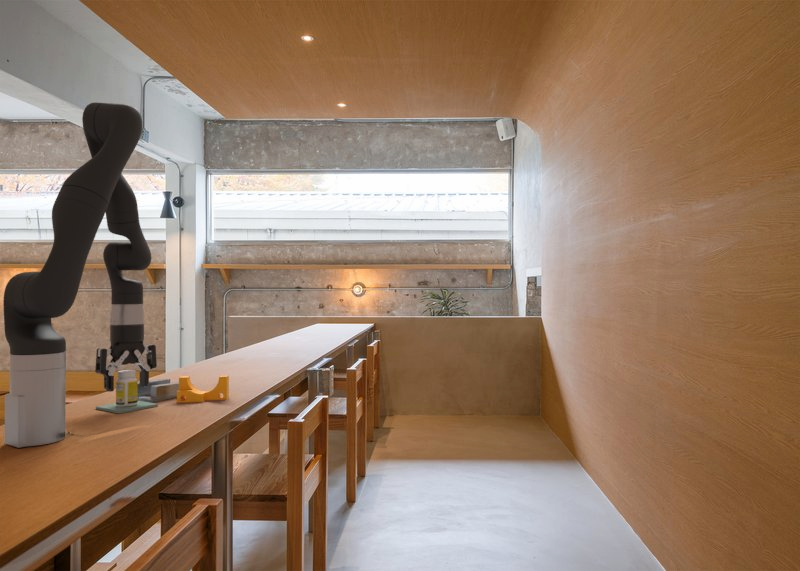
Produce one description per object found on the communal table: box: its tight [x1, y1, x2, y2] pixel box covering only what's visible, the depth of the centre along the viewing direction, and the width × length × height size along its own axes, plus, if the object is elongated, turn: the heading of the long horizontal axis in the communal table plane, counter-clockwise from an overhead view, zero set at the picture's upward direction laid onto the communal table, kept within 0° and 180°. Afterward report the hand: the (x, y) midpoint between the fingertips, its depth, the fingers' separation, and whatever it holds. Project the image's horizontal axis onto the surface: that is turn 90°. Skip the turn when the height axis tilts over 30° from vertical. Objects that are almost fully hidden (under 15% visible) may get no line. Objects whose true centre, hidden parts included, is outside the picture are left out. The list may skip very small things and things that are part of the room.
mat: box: [95, 401, 159, 414], centre depth 136 cm, size 10×10×1 cm
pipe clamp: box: [176, 374, 230, 404], centre depth 144 cm, size 12×4×6 cm, turn 96°
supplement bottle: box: [115, 369, 138, 407], centre depth 136 cm, size 5×5×8 cm
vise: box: [137, 378, 179, 403], centre depth 152 cm, size 14×18×4 cm
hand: (127, 388), depth 136 cm, fingers open, 8 cm apart
